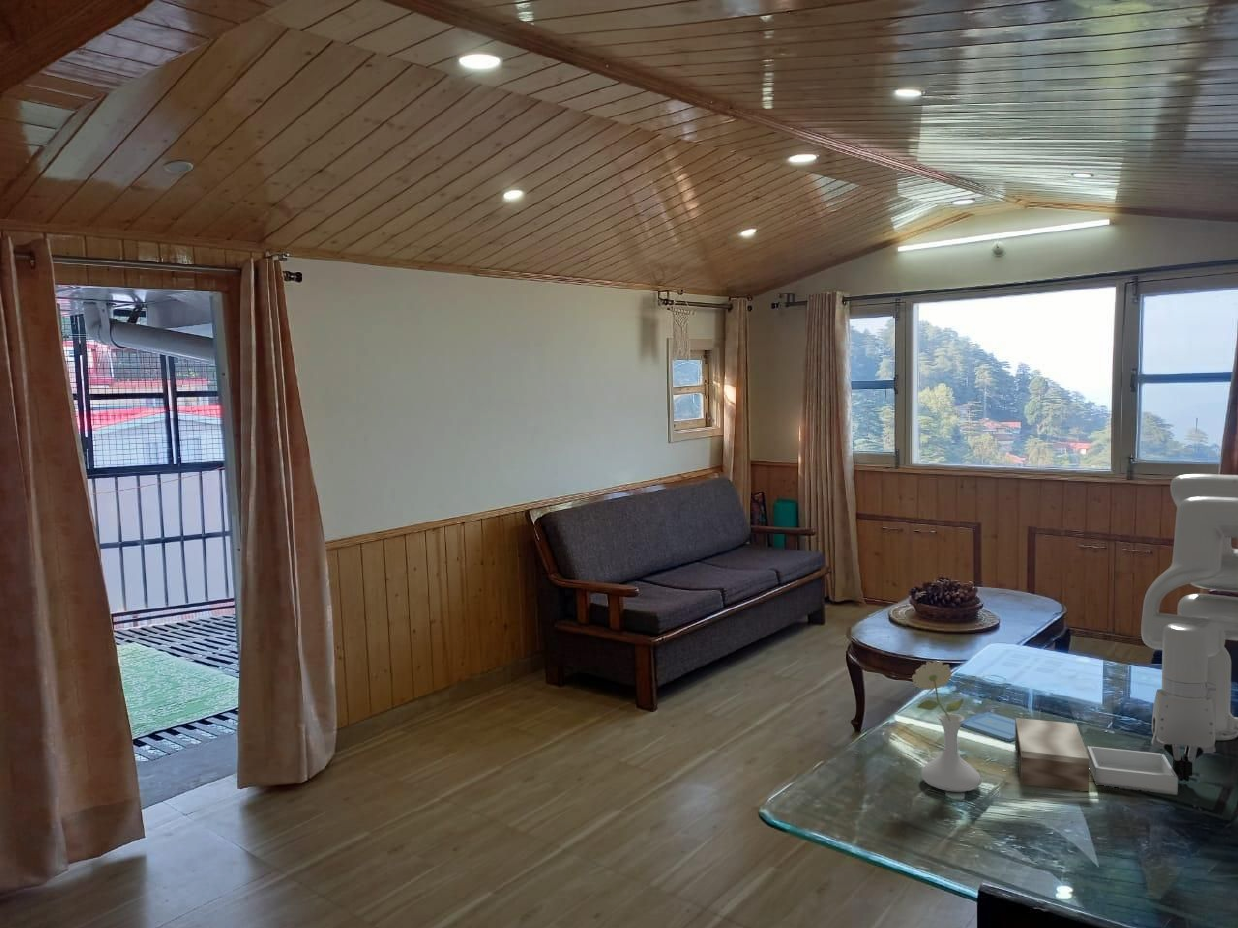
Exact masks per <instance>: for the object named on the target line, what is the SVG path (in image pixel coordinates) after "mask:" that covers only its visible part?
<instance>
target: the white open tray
mask: <svg viewBox="0 0 1238 928" xmlns="http://www.w3.org/2000/svg"><path fill="white" fill-rule="evenodd" d="M1086 751H1087V753H1088V756H1089V768H1090V769H1089V772H1090V771H1091V772H1090V774H1091V773H1092V775H1091V776H1093V777H1092V780H1093V779H1094V780H1093V782H1094V781H1095V783H1094V785H1095V784H1098V785H1104V786H1103V787H1106V786H1109V788H1114V787H1119V788H1118V789H1123V788H1124V789H1125V790H1131V789H1132V790H1133V791H1139V790H1141V791H1142V792H1148V791H1149V792H1148V793H1157V794H1165V795H1166V794H1167V795H1174V796H1178V794H1179V793H1178V787H1179V786H1178V784H1179V779H1178V777H1177V775H1176V773H1175V772H1174V770H1173V766H1172V765H1171V764H1170V762H1169V760H1168V758H1167V757H1166V755H1165V753H1158V752H1157V753H1156V752H1155V753H1154V752H1147V751H1136V750H1129V749H1128V750H1127V749H1120V748H1119V749H1118V748H1117V749H1116V748H1109V747H1099V746H1086ZM1110 786H1111V787H1110Z"/></svg>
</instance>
